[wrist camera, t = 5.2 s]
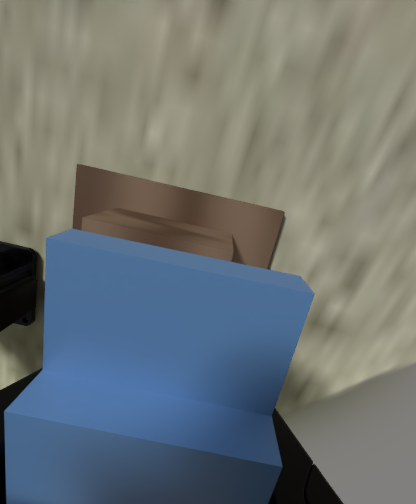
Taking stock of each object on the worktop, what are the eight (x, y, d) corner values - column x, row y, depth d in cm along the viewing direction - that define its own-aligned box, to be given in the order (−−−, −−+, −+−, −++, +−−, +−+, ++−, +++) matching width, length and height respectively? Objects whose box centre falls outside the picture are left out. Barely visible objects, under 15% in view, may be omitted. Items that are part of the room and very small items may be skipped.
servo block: (122, 415, 11) (10, 687, 5) (153, 200, 8) (-1, 254, 3) (202, 432, 11) (182, 720, 5) (257, 222, 8) (339, 324, 3)
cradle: (68, 338, 22) (23, 384, 17) (81, 164, 18) (26, 160, 13) (232, 376, 22) (234, 433, 17) (282, 211, 18) (304, 224, 13)
